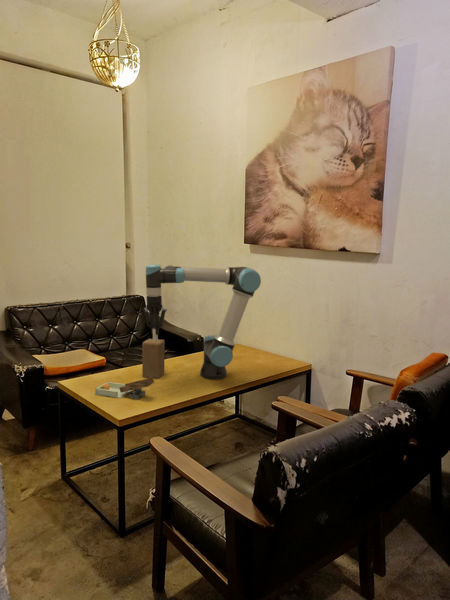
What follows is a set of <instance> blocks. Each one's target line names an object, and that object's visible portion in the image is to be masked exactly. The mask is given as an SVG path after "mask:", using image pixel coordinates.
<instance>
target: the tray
mask: <svg viewBox="0 0 450 600" xmlns="http://www.w3.org/2000/svg"><path fill="white" fill-rule="evenodd" d="M104 384H109V385H110V389H109V390H105V389H103V385H104ZM125 384H126V383H118V382H113V381H112V382H111V381H107V382H105V383H103V384H101V385H100V386H98V387H96V388H95V395H96V396H103V397H109V398H114V399H115V398H116V399H122V398H124V397H125V396H127V395H129V394H130V393H132V392H133V390H131V391H126V392H122V393H121V392H120V389H119V388H120V387H123V386H125Z"/></svg>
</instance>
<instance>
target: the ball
mask: <svg viewBox="0 0 450 600" xmlns="http://www.w3.org/2000/svg"><path fill="white" fill-rule="evenodd" d="M103 384H104V385H103ZM103 384H102V385H103V389H105V390H109V389H110V385H109V384H105V383H103Z"/></svg>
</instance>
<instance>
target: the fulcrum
mask: <svg viewBox="0 0 450 600" xmlns="http://www.w3.org/2000/svg"><path fill="white" fill-rule="evenodd" d="M128 396H129V397H128V398H129V399H133V400H140V399H141V398H143V397H144V396H146V390H143V389H142V388H139V389H135V390H132V391H131V392H130V393H128Z"/></svg>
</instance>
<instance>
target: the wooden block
mask: <svg viewBox="0 0 450 600" xmlns="http://www.w3.org/2000/svg"><path fill="white" fill-rule="evenodd" d="M165 345H166V342H165V339H159V338H158V340H157V341H156V342H155V341H153V338H148V339H146V340H144V341H143V342H142V357H141V358H142V362H141V364H142V375H141V376H142V377H143V378H149V377H150V376H153V379H160V378H161V377H162V376H163V375H164V374H165V359H166V358H165V354H166V353H165V349H166V348H165Z"/></svg>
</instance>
